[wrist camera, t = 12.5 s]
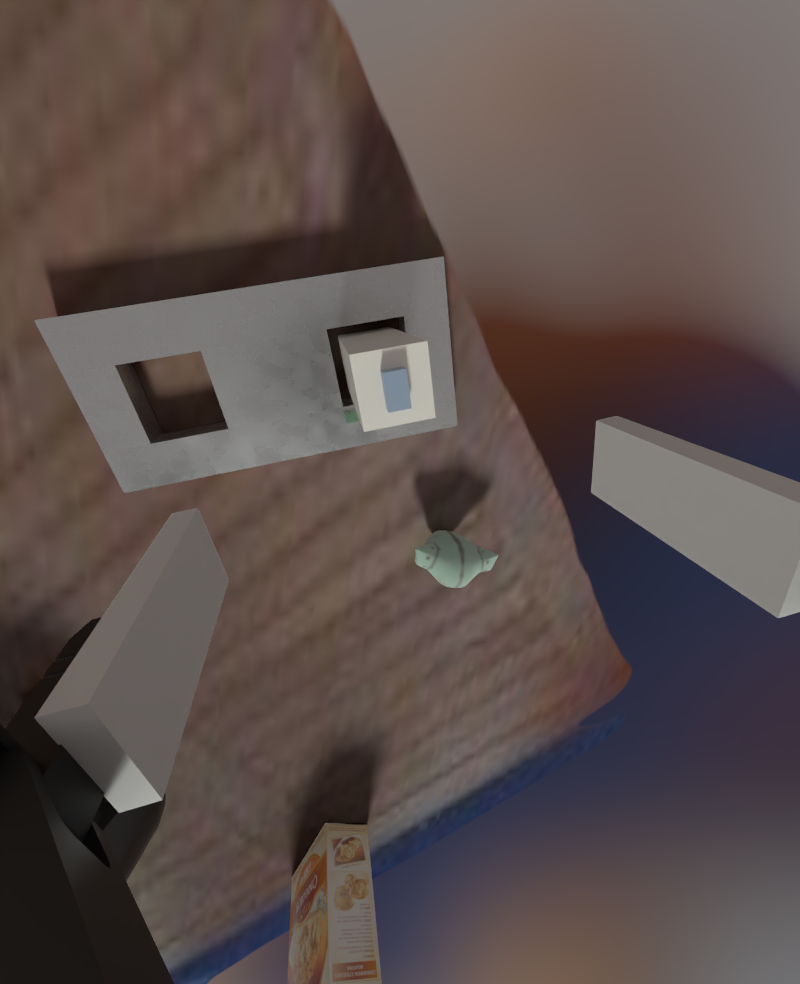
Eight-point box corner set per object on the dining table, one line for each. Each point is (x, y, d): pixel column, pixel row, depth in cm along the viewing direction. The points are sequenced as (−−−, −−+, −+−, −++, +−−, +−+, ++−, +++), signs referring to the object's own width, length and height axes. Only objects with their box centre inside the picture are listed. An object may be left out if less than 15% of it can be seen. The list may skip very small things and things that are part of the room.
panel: (137, 479, 32) (123, 494, 30) (57, 318, 27) (32, 320, 24) (448, 417, 35) (458, 426, 32) (434, 259, 29) (444, 256, 27)
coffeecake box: (324, 821, 58) (327, 1044, 40) (369, 823, 60) (390, 1034, 43) (289, 877, 62) (279, 1098, 45) (332, 876, 65) (338, 1086, 47)
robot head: (481, 522, 40) (510, 561, 34) (470, 556, 42) (496, 599, 36) (405, 515, 38) (422, 555, 32) (396, 551, 40) (411, 595, 34)
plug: (348, 388, 32) (365, 436, 21) (337, 335, 30) (350, 356, 19) (396, 379, 32) (439, 421, 21) (388, 326, 31) (431, 342, 19)
